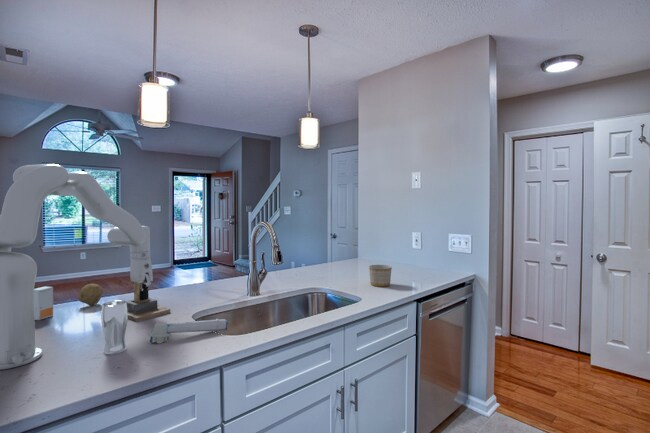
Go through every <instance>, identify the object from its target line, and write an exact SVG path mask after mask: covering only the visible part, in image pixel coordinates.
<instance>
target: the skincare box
mask: <svg viewBox="0 0 650 433" xmlns="http://www.w3.org/2000/svg"><path fill="white" fill-rule="evenodd" d="M34 314H35V321H41V320H45V319H47V318H50V317H53V316H54V287H53V286H47V285H45V286H42V287H37V288H34Z"/></svg>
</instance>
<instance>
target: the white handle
mask: <svg viewBox="0 0 650 433" xmlns="http://www.w3.org/2000/svg"><path fill="white" fill-rule="evenodd" d="M228 325H229V322H228V319H227V318H223V319H220V318H216V319H207V320H197V321H184V322H175V323H173V322H172V323H167V322H163V321H162V322H156V323H155V324H154V325H153V329H152V331H150V332H149V337H150V338H149V342H150V343H152V344H153V343H157V344H162V343H163V342H168V341H169V337H170V336H171V334H172V333H173V334H174V333H175V334H176V333H179V334H180V333H198V332H203V333H204V332H216V333H217V332H221V331H227V330H228V327H229V326H228Z"/></svg>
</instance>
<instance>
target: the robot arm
mask: <svg viewBox="0 0 650 433" xmlns="http://www.w3.org/2000/svg"><path fill="white" fill-rule="evenodd" d="M12 181H13V183H12V184H11V185H10V187H9V188H8V190H7V192H6V195H5V197H4V200H3V203H2V204H3V205H2V209H1V212H0V371H1V370H7V369H8V370H9V369H12V368H17V367H20V366H24V365H27V364H29V363H32V362H34V361H36V360H38V359H39V358H40V357H41V356H43V349H41V348H40V347H36V322H35V321H36V320H35V314H34V289H35V284H36V280H37V279H36V278H37V273H38V265H37V262H36V261H35V260H34V258H32V257H31V256H30V255H28V254H26V253H21V252H18V251H17V252H13V251H12V248H24V247H25V248H26V247H28V246H30V245H32V244H33V243H34V242H35V241H36V238H37V234H38V228H39V223H40V222H39V221H40V216H41V210H42V206H43V204H44V201H45V199H47V197H48V196H50V195H51V196H61V197H74V198H75V199H76V200H77V201H78V202H79V203H80V205H81V206H82V207H83V208H84V209H85V211H86V212H87V213H88V214H89V215H90V216H91V217H92V218H94V219H97V220H99V221H101V222H104V223H108V224H109V225H113V227H112V228H110V229H109V231H108V232H107V234H106V235H107V236H106V237H107V240H108V242H109V243H110V244H112V245H114V246H123V247H125V246H127V247H129V260H130V268H129V269H130V270H129V276H130V278H129V279H130V282H132V286H133V289H134V282H137V283H140V288H141V291H140V300H146V299H148V294H149V290H150V288H149V287H150V286H151V285H152V282H153V281H154V280H153V279H154V277H153V276H154V275H153V265H152V260H151V228H150V226H147V225H142V224H141V223H140V221H139V220H138V219H137V218H136V217H135V216H134V215H133V214H132V213H130V212H128V211H127V210H125V209H124V208H123V207H121V206H119V205H118V204H116V203H115V202H113V200H112V199H111V197H109V196H110V195H108V194H107V192H106V191H105V190H104V189H103V187H102V186H101V185H100V184H99V182H98V181H97V180H96V178H95V177H94V176H93V175H91V174H90V173H89V172H85V171H68V170H67V168H65V167H64V166H63V165H61V164H60V165H59V164H55V163H44V164H43V163H41V164H40V163H39V164H26V165H22V166H20V167H18V168H17V169H15V170H14V171H13V174H12ZM144 281H146V282H145V283H143V282H144ZM143 284H145V285H144V286H143Z"/></svg>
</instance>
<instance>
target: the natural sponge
mask: <svg viewBox="0 0 650 433" xmlns="http://www.w3.org/2000/svg"><path fill="white" fill-rule="evenodd" d="M103 290H104V289H103V287H102V286H100V285H99V284H96V283H89V284H86V285H84V286H82V288H81V289H80V292H79V294H78V296H77V298H78V301H79V302H81V303H83V304H86V305H87V306H90V307H94V306H96V305H97V304H98V303H99V302H100V301H101V299H102V296H103V292H104V291H103Z"/></svg>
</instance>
